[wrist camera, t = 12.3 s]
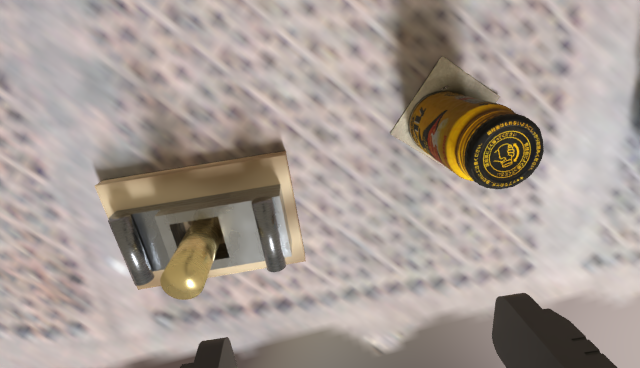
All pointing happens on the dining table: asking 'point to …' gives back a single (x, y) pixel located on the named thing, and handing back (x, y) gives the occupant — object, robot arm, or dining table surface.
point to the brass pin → (192, 259)
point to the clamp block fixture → (206, 215)
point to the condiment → (470, 130)
